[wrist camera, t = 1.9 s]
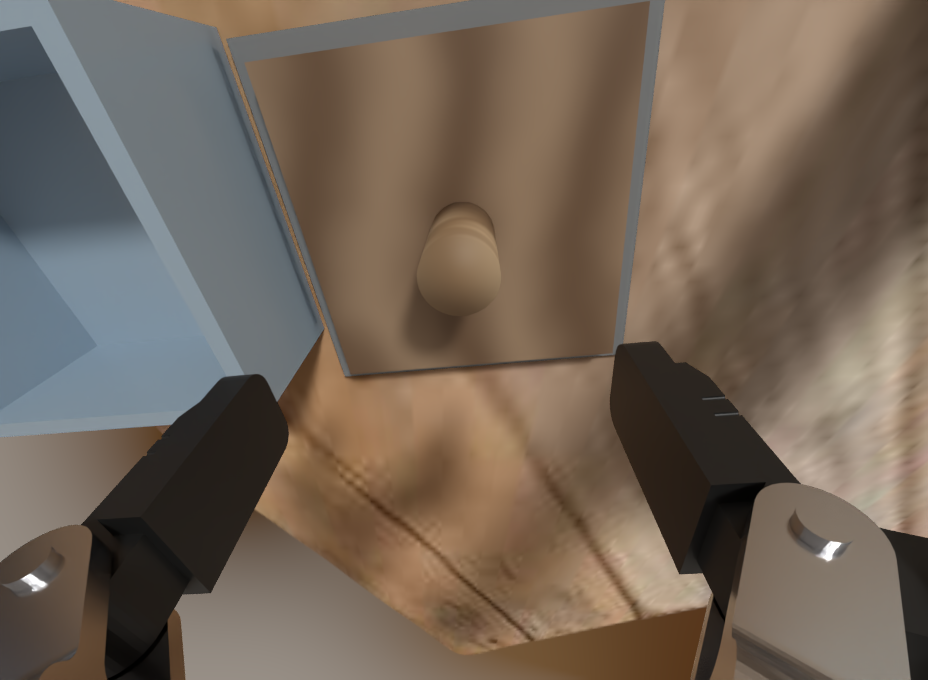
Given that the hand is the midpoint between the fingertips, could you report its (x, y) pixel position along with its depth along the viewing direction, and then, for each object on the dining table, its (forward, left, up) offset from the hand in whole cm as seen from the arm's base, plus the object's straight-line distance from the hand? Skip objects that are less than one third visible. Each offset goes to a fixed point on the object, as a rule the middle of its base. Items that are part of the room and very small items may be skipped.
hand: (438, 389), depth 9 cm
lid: (0, 0, -13) cm, 13 cm away
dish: (+17, -2, -14) cm, 22 cm away
